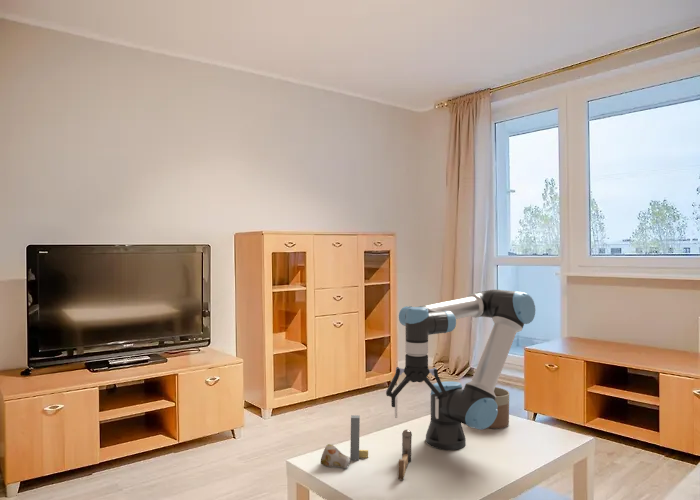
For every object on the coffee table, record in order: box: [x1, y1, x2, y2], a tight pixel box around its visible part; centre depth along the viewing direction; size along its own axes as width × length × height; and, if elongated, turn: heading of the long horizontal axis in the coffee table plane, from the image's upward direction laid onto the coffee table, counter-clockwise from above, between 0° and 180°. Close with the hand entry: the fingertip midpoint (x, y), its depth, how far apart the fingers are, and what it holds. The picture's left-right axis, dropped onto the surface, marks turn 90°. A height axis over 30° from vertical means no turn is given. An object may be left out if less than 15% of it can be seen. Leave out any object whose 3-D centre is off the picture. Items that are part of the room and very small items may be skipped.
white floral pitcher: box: [320, 443, 351, 469], centre depth 177 cm, size 8×10×10 cm
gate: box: [397, 454, 409, 481], centre depth 173 cm, size 14×2×6 cm, turn 167°
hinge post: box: [401, 429, 413, 464], centre depth 182 cm, size 3×3×11 cm
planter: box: [487, 386, 510, 429], centre depth 222 cm, size 16×16×14 cm
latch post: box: [349, 414, 369, 462], centre depth 183 cm, size 6×4×15 cm, turn 87°
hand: (416, 417), depth 173 cm, fingers open, 13 cm apart
